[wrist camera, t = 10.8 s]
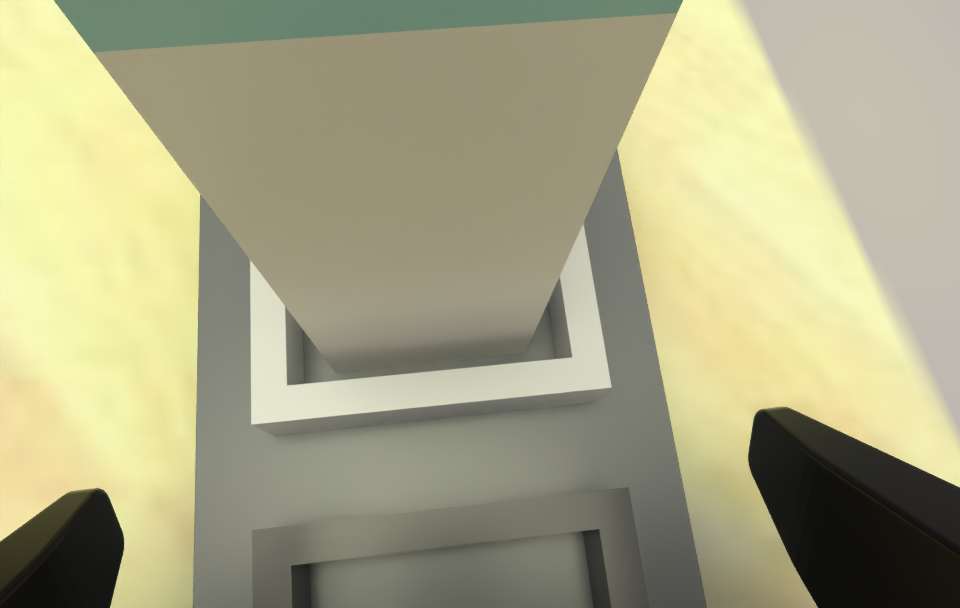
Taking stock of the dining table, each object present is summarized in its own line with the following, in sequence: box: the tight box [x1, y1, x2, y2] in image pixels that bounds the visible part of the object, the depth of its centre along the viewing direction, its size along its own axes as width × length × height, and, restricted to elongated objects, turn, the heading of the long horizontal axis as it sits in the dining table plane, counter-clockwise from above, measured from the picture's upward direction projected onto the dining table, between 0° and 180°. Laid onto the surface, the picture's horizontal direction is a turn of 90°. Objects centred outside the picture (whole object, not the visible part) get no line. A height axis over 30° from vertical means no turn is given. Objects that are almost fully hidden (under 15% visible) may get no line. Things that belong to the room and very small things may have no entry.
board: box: [193, 149, 707, 608], centre depth 16 cm, size 20×12×3 cm, turn 6°
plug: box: [54, 0, 683, 372], centre depth 12 cm, size 5×5×14 cm
